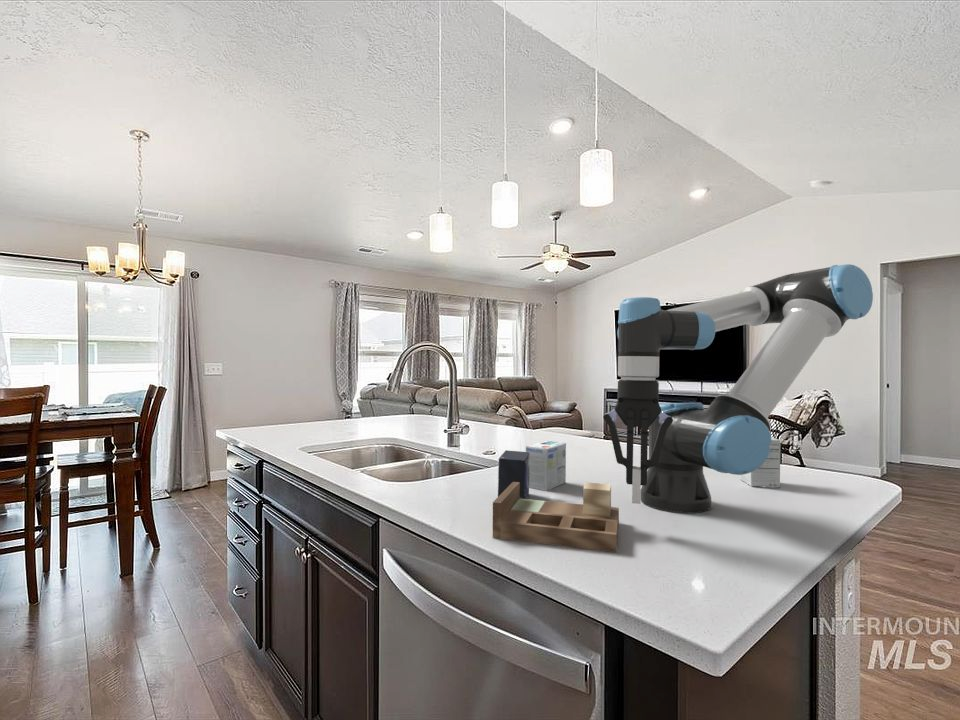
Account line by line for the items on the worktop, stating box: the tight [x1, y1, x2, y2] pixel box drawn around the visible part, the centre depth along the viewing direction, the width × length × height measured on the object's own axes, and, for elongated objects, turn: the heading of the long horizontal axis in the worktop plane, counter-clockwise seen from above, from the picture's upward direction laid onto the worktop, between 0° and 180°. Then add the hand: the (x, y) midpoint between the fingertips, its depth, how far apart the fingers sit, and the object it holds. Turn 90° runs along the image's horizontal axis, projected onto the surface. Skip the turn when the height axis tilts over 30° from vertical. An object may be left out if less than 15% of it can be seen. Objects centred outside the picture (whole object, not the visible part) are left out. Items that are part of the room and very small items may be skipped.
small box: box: [497, 450, 530, 499], centre depth 116 cm, size 11×6×10 cm, turn 168°
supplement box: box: [739, 436, 781, 488], centre depth 131 cm, size 7×7×13 cm
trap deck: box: [492, 482, 620, 553], centre depth 95 cm, size 22×16×6 cm
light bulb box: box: [525, 440, 567, 492], centre depth 129 cm, size 11×7×11 cm, turn 144°
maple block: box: [582, 481, 612, 517], centre depth 97 cm, size 5×5×5 cm
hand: (636, 501), depth 95 cm, fingers closed
